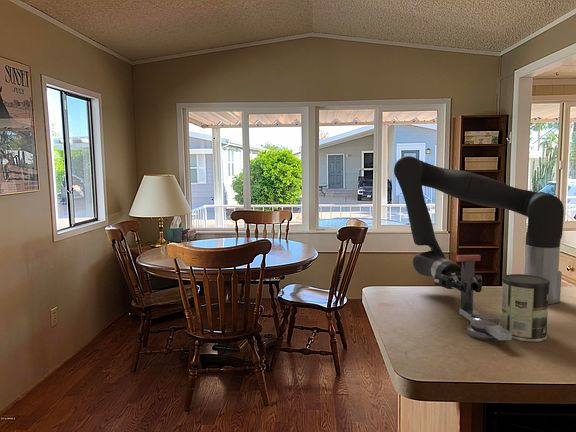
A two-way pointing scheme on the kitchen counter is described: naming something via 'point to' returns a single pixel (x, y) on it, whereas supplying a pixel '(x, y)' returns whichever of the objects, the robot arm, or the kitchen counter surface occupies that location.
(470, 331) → the base
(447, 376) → the kitchen counter surface
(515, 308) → the coffee can
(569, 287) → the kitchen counter surface
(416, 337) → the kitchen counter surface
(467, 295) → the crank
